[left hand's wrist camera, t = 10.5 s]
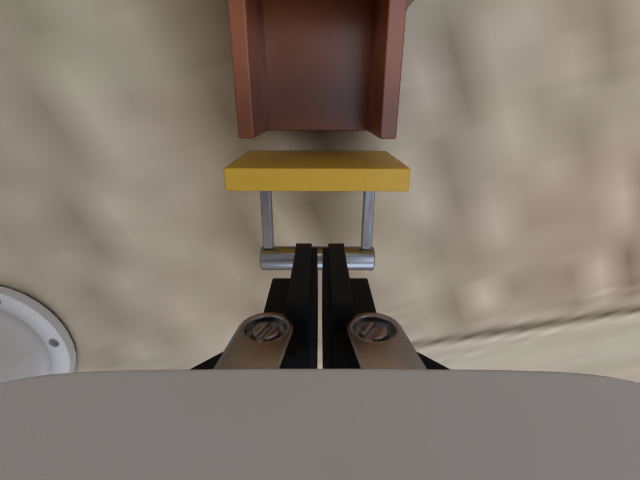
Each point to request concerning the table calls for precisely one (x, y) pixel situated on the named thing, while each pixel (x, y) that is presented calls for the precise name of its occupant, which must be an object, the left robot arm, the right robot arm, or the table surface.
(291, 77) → the drawer
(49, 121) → the table surface
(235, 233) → the table surface
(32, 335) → the left robot arm
